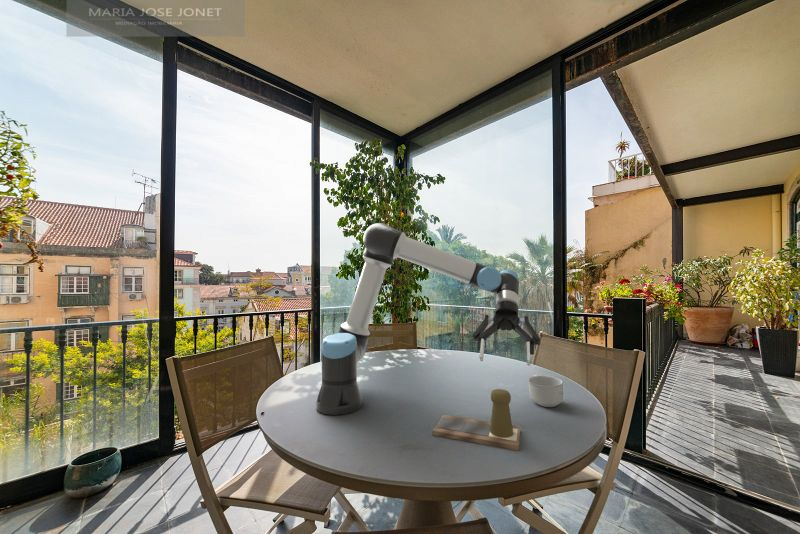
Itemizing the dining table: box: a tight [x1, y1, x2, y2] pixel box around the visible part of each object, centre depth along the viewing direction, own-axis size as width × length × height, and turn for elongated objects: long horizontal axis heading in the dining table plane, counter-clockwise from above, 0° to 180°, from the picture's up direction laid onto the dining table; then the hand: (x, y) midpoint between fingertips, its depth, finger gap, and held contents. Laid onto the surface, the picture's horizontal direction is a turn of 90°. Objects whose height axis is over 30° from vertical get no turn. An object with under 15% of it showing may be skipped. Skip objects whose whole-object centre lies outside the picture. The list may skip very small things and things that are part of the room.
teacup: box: [527, 374, 564, 408], centre depth 109 cm, size 14×11×8 cm
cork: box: [490, 388, 513, 438], centre depth 86 cm, size 6×6×11 cm
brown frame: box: [432, 414, 521, 451], centre depth 88 cm, size 22×11×1 cm, turn 68°
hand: (504, 361), depth 96 cm, fingers open, 13 cm apart
